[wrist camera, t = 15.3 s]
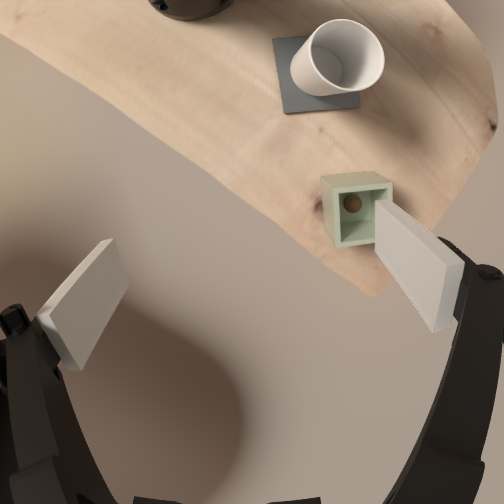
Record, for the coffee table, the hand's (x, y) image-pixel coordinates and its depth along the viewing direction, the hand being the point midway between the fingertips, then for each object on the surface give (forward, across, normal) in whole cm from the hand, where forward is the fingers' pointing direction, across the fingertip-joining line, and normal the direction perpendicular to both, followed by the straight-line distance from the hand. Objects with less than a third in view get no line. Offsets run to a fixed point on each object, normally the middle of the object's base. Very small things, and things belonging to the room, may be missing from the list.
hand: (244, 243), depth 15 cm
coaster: (+35, +12, +11) cm, 38 cm away
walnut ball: (+34, +15, -10) cm, 38 cm away
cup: (+34, +12, +11) cm, 38 cm away
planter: (+35, +15, -10) cm, 39 cm away
